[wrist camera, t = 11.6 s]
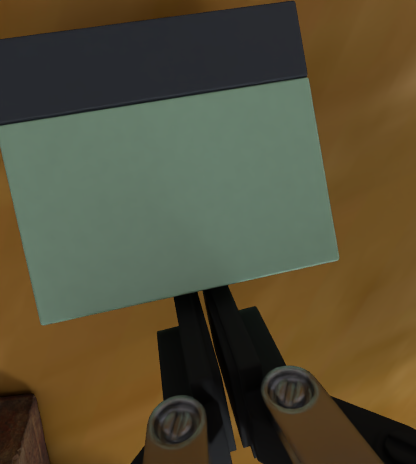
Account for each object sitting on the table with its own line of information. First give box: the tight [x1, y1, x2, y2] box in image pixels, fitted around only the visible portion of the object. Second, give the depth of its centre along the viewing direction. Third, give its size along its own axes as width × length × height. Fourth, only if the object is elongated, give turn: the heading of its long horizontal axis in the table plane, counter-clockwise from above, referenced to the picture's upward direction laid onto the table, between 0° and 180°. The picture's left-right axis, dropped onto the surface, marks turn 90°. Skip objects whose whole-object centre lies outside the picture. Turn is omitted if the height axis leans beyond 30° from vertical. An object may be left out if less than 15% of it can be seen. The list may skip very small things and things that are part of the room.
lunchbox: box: [0, 1, 339, 325], centre depth 13 cm, size 9×7×7 cm
